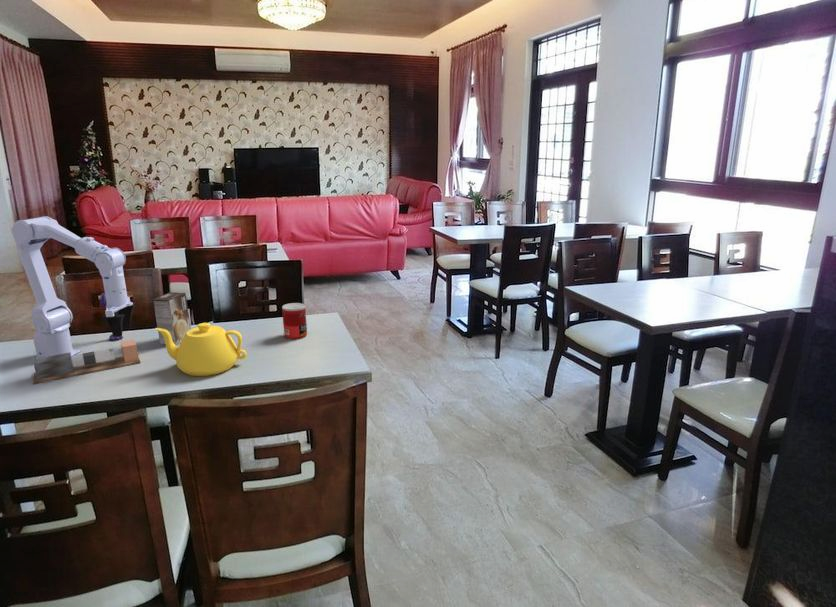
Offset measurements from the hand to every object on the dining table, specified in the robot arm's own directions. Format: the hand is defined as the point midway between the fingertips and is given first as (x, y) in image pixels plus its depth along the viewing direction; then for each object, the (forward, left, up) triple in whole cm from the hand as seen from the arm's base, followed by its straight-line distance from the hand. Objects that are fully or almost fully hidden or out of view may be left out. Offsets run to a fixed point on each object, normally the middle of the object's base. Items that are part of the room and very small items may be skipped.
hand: (122, 332), depth 167 cm
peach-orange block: (+1, +1, -9) cm, 9 cm away
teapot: (+26, -2, -10) cm, 28 cm away
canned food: (+46, +26, -10) cm, 54 cm away
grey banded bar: (-10, -8, -8) cm, 15 cm away
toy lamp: (-16, +19, -10) cm, 26 cm away
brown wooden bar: (-9, -6, -10) cm, 14 cm away
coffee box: (+6, +19, -10) cm, 22 cm away
